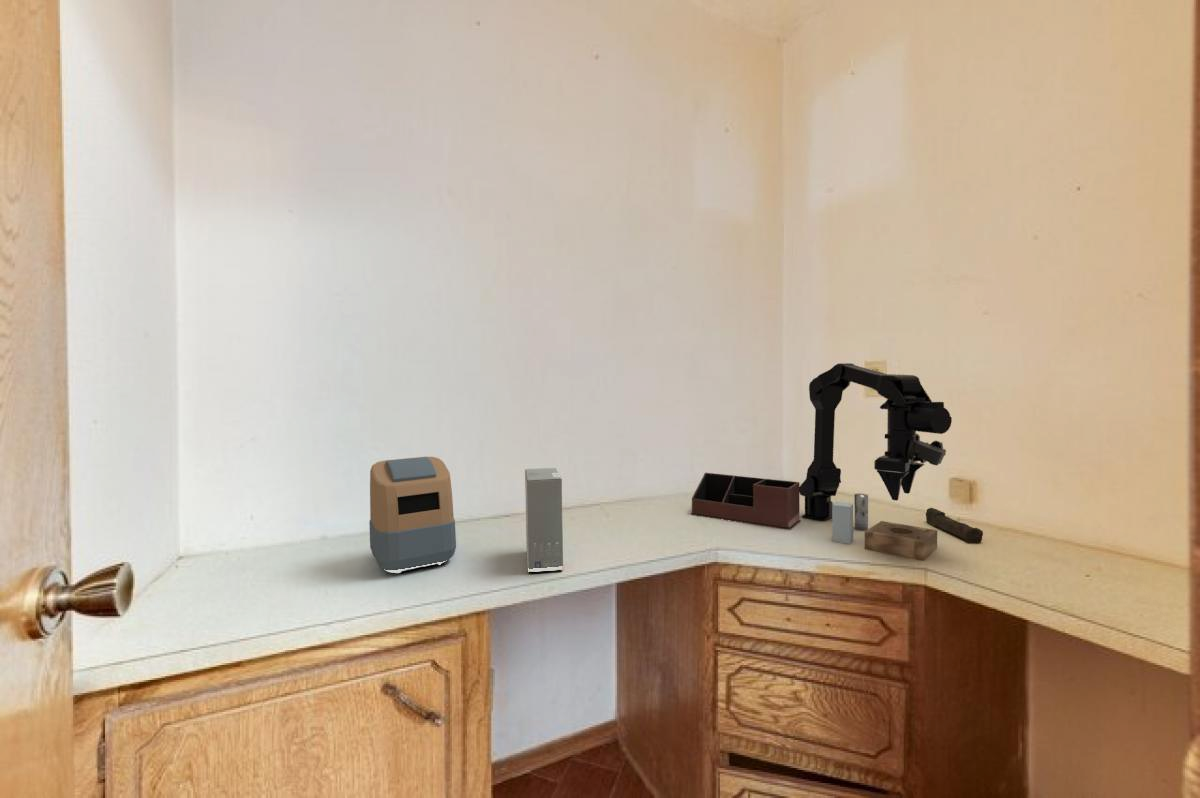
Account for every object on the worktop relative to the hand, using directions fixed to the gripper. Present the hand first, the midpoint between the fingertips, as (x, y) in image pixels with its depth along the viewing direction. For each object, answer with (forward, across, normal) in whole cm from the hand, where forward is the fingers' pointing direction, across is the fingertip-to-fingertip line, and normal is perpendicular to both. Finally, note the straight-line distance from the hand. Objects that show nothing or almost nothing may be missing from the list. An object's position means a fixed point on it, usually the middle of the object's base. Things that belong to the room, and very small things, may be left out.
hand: (901, 496), depth 122 cm
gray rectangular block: (+12, -3, +12) cm, 17 cm away
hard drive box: (+12, -61, +56) cm, 84 cm away
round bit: (+12, +10, +12) cm, 20 cm away
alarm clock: (+12, -81, +78) cm, 113 cm away
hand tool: (+12, +21, -5) cm, 25 cm away
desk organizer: (+13, 0, +40) cm, 42 cm away
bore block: (+12, 0, 0) cm, 12 cm away
